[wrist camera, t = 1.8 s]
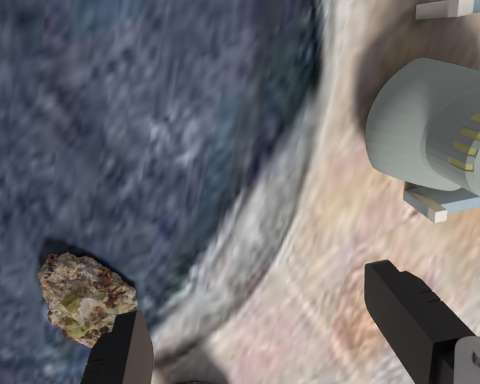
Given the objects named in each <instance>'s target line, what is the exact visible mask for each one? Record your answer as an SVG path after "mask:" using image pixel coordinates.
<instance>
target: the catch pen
mask: <svg viewBox="0 0 480 384" xmlns="http://www.w3.org/2000/svg"><path fill="white" fill-rule="evenodd" d="M477 12H480V0H443V1H436V2H430V3H424V4H418V5H416V16H415V20H422V19H435V18H447V17H458V16H465V15H471V14H472V13H477ZM404 200H405V201H406V202H407V203H409V204H410V205H411V206H413V207H414V208H415V209H417V210H418V211H419V212H421V213H422V214H423V215H424V216H426V217H427V218H428V219H430V220H431V221H432V222H434V223H437V222H442V221H446V218H447V214H448V213H453V212H458V211H463V210H468V209H473V208H478V207H480V196H478V195H476V194H474V193H472V192H470V191H469V190H467V189H465V188H463V187H462V188H459V189H457V190H454V191H445V190H439V189H434V188H429V187H425V186H423V187H417V188H412V189H407V190H404Z"/></svg>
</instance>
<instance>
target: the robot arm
mask: <svg viewBox="0 0 480 384" xmlns="http://www.w3.org/2000/svg"><path fill="white" fill-rule="evenodd" d="M364 298H365V303H366V307H367V310H368V312H369V314H370V316H371V317H372V319H373V320H374V322H375V323H376V325H377V326H378V328H379V329H380V331H381V332H382V334H383V335H384V337H385V338H386V340H387V341H388V343H389V345H390V346H391V348H392V349H393V351H394V352H395V354H396V355H397V357H398V358H399V360H400V361H401V363H402V364H403V366H404V367H405V369H406V370H407V372H408V373H409V375H410V377H411V378H412V380H413V381H414V383H415V384H480V337H478V336H476V335H475V334H474V333H473V332H472V331H471V330H470V329H469V328H468V327H467V326H466V325H465V324H464V323H463V322H462V321H461V320H460V319H459V318H458V317H457V316H456V314H455V313H454V312H453V311H452V310H451V309H450V308H449V307H448V306H447V305H446V304H445V303H444V302H443V301H441V300H440V298H439V297H438V296H437V295H436V294H435V293H434V292H432V290H431V289H430V288H429V287H428V286H427V285H426V284H425V283H424V281H423V280H422V279H420V278H418V277H417V276H415V275H413V274H411V273H409V272H408V271H403V272H399V271H398V269H397V268H396V267H395V266H394V265H393V264H392V263H391V262H390V261H389V260H382V261H377V262H372V263H368V264H366V265H365V283H364ZM153 361H154V353H153V345H152V341H151V338H150V335H149V332H148V330H147V327H146V324H145V321H144V318H143V315H142V313H141V311H140V310H136V311H132V312H127V313H122V314H118V315H116V317H115V320H114V324H113V328H112V331H111V332H108V333H103V334H102V335H101V336H100V338H99V339H98V340H97V342H96V343H95V344H94V346H93V347H92V349H91V352H90V355H89V359H88V362H87V363H88V364H87V365H86V368H85V371H84V374H83V375H84V377H83V378H82V380H81V383H80V384H151V378H152V370H153Z"/></svg>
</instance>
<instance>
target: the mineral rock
mask: <svg viewBox="0 0 480 384" xmlns="http://www.w3.org/2000/svg"><path fill="white" fill-rule="evenodd" d="M36 275H37V276H38V277H39V279H40V284H39V285H40V287H41V288H42V290H43V291H42V294H43V295H42V296H43V297H44V298H45V299H46V300H47V302H46V303H47V305H48V307H49V309H50V311H49V312H48V319H49V321H51V324H54V325H57V326H59V328H60V327H62V334H63V335H64V337H66V338H67V339H69V340H73V341H75V342H77V343H78V344H80V343H82V344H85V345H86V346H89V347H91V348H92V347H93V346H94V344H95V343H96V342H97V340H98V339H99V338H100V336H101V335H102V334H103V333H108V332H111V331H112V328H113V324H114V320H115V317H116V315H118V314H122V313H127V312H132V311H136V307H137V305H138V301H137V299H136V298H137V294H136V290H135V288H133V287H131V286H129V285H128V284H127V283H126V282H124V281H123V280H122V278H121V277H120V276H119V275H118V274H116V273H115V272H112V271H111V270H110V269H109V268H106V267H104V266H103V265H102V264H100V263H97V261H95V260H94V259H93V258H91V257H87V256H83V257H80V258H79V257H78V258H77V257H76V256H75V255H72V254H70V253H69V252H67V253H65V254H61V255H60V256H59V255H57V254H52V253H51V254H49V255H47V257H46V263H44V264H43V265H42V267H41V269H40V270H39V271H38V273H37V274H36Z"/></svg>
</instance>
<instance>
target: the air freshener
mask: <svg viewBox="0 0 480 384" xmlns="http://www.w3.org/2000/svg"><path fill="white" fill-rule="evenodd" d="M365 142H366V150H367V154H368V157H369V160H370V162H371V164H372V166H373V167H374V168H375V169H376V170H378V171H380V172H382V173H384V174H387V175H389V176H392V177H395V178H398V179H401V180H404V181H407V182H410V183H413V184H417V185H421V186H425V187H429V188H434V189H439V190H445V191H454V190H457V189H459V188H462V187H463V188H465V189H467V190H469V191H470V192H472V193H474V194H476V195H478V196H480V71H478V70H475V69H471V68H468V67H464V66H460V65H456V64H452V63H448V62H444V61H439V60H435V59H429V58H421V57H419V58H417V59H415V60H413V61H411V62H410V63H408V64H407V65H405V66H404V67H403V68H401V69H400V70H399V71H397V72H396V73H395V74H394V75H393V76H392V77H391V78H390V79H389V80H388V81H387V83H386V84H385V85H384V86H383V88H382V89H381V90H380V92H379V93H378V95H377V97H376V99H375V100H374V102H373V104H372V107H371V110H370V112H369V115H368V119H367V123H366V132H365Z"/></svg>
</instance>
